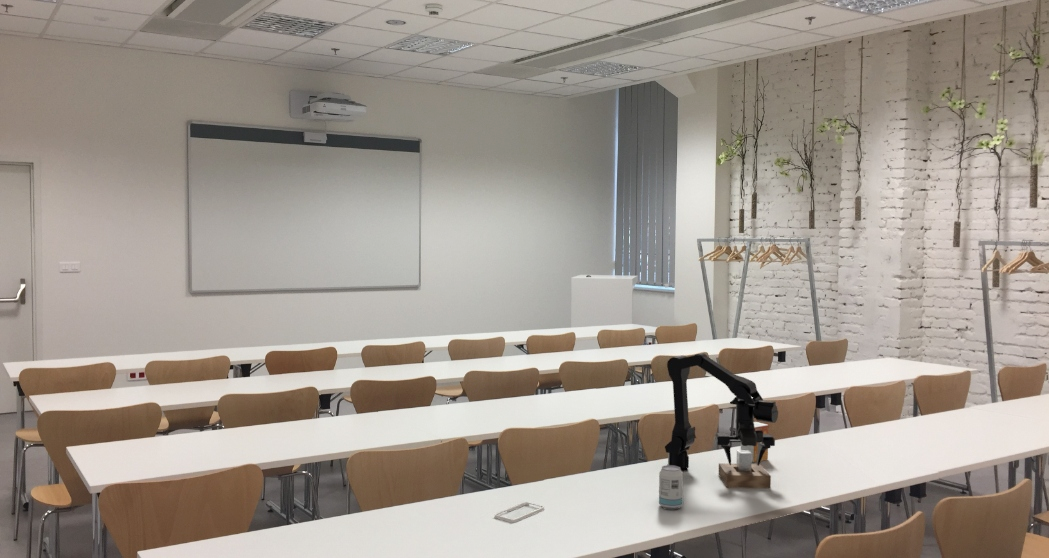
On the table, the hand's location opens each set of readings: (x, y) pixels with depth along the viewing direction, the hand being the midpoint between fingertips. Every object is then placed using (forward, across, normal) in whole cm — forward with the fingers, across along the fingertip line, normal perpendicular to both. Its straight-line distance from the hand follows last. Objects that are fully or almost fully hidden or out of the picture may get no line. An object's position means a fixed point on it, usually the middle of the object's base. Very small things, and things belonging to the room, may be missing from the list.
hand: (744, 465), depth 270 cm
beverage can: (+6, -28, -28) cm, 40 cm away
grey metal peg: (+6, 0, 0) cm, 6 cm away
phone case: (+6, -73, -36) cm, 82 cm away
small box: (+6, +10, +28) cm, 30 cm away
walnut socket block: (+6, 0, 0) cm, 6 cm away
